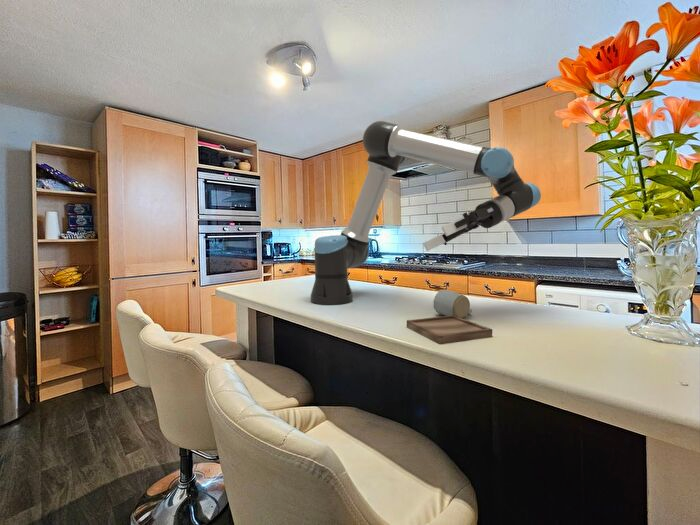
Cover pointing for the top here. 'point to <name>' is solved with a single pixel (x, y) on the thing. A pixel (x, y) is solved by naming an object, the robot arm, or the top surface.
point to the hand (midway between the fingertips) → (434, 239)
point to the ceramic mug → (451, 304)
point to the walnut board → (448, 329)
